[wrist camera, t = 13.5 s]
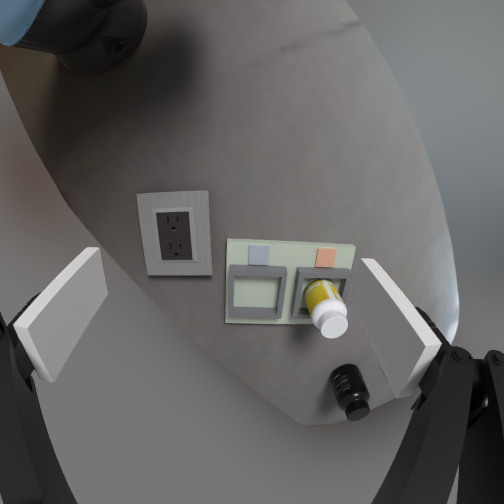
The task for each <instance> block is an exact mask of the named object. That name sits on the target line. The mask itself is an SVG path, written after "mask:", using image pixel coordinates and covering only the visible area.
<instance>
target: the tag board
mask: <svg viewBox="0 0 504 504" xmlns="http://www.w3.org/2000/svg"><path fill="white" fill-rule="evenodd" d="M355 249H356V247H355V246H354V245H353V244H335V243H315V242H295V241H274V240H252V239H227V266H226V321H225V323H251V324H313V322H312V319H311V316H310V313H309V310H308V307H307V305H306V302H305V299H304V289H305V287H306V285H307V284H308V283H309V282H310V281H311V280H313V279H315V278H328V279H330V280H331V281H332V282H333V283H334V285H335V287H336V289H337V291H338V293H339V295H340V296H341V298H342V300H343V302H344V304H345V302H346V298H347V294H348V290H349V286H350V282H351V278H352V273H351V267H352V262H353V258H354V253H355Z"/></svg>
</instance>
